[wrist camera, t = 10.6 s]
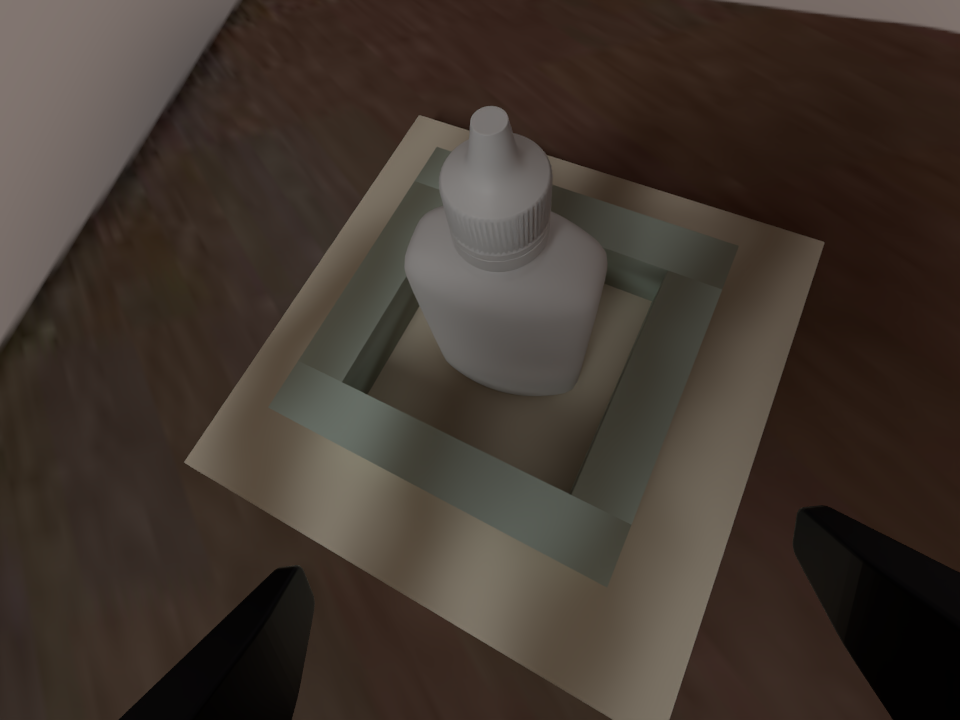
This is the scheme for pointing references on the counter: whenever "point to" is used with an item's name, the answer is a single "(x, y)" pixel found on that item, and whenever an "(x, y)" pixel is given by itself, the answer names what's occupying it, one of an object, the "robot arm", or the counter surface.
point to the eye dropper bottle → (505, 266)
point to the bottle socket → (529, 430)
